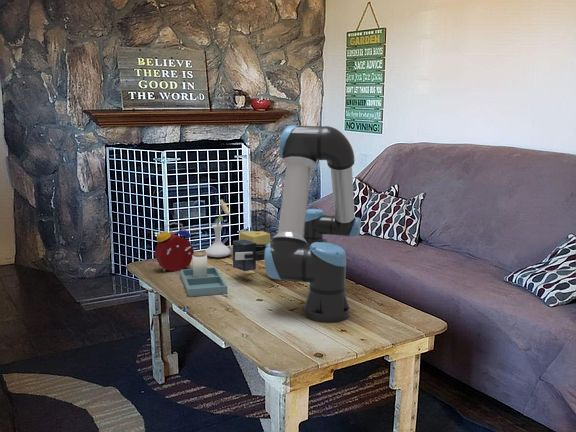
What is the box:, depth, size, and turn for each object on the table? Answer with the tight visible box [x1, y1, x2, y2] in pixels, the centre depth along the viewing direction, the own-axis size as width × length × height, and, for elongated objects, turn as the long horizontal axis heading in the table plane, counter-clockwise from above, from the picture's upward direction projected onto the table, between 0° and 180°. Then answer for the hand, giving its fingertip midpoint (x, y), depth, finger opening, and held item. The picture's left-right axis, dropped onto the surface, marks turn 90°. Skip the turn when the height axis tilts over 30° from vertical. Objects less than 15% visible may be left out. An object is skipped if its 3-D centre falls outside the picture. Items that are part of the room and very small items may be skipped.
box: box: [232, 239, 257, 272], centre depth 224 cm, size 8×6×11 cm
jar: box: [191, 251, 208, 278], centre depth 226 cm, size 6×6×10 cm
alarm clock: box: [153, 222, 195, 272], centre depth 235 cm, size 15×9×20 cm, turn 123°
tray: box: [179, 266, 229, 298], centre depth 220 cm, size 24×14×3 cm, turn 17°
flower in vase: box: [204, 199, 231, 258], centre depth 258 cm, size 13×11×25 cm
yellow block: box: [238, 230, 271, 244], centre depth 262 cm, size 10×11×10 cm
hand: (232, 253), depth 223 cm, fingers closed on box, 9 cm apart
